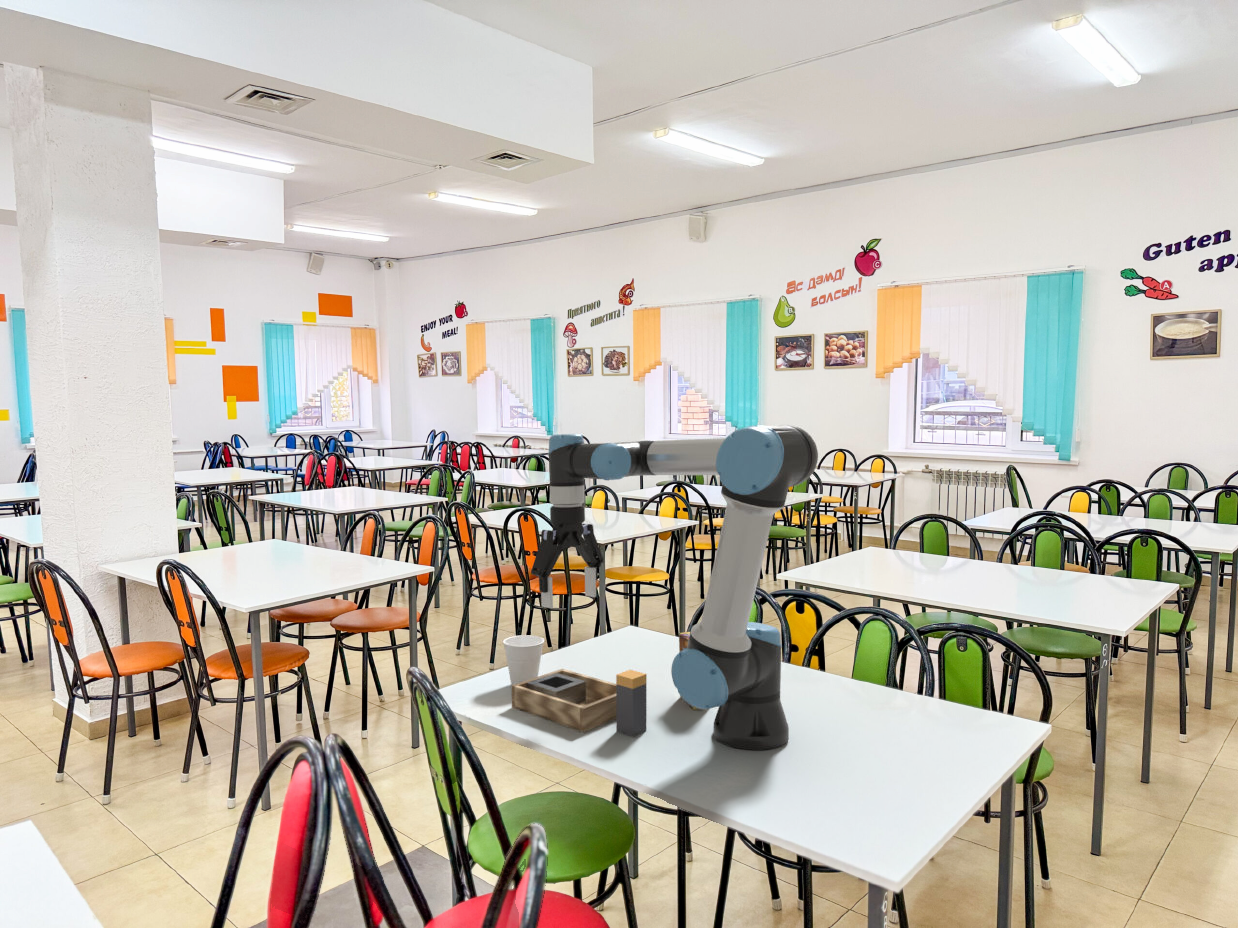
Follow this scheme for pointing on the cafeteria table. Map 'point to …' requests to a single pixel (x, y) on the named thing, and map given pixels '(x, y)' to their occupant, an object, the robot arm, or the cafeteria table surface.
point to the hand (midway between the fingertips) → (569, 601)
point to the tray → (569, 703)
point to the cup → (523, 657)
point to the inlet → (560, 687)
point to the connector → (631, 703)
